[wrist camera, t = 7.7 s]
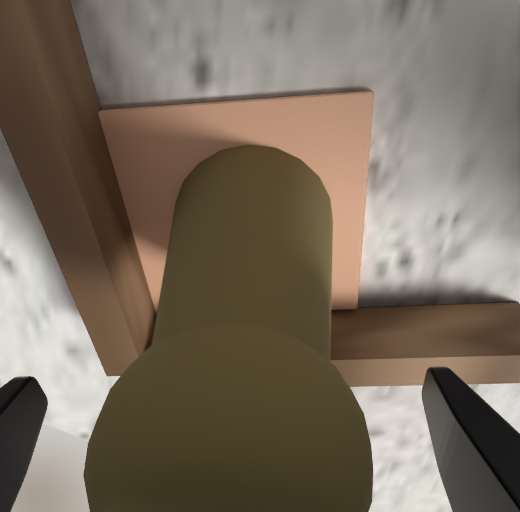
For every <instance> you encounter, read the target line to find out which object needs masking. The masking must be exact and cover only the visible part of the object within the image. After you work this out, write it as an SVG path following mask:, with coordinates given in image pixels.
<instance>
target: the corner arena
mask: <svg viewBox="0 0 520 512" xmlns="http://www.w3.org/2000/svg"><path fill="white" fill-rule="evenodd" d="M373 98H374V92H373V91H360V92H346V93H332V94H318V95H304V96H290V97H276V98H262V99H248V100H235V101H221V102H207V103H193V104H179V105H165V106H151V107H137V108H123V109H109V110H101V108H100V104H99V101H98V97H97V94H96V90H95V87H94V83H93V80H92V76H91V73H90V69H89V66H88V62H87V58H86V55H85V51H84V48H83V44H82V41H81V37H80V34H79V30H78V27H77V23H76V20H75V16H74V13H73V9H72V6H71V2H70V0H0V128H1V130H2V132H3V135H4V137H5V139H6V142H7V144H8V147H9V149H10V151H11V154H12V156H13V158H14V161H15V163H16V165H17V168H18V170H19V172H20V175H21V177H22V179H23V182H24V184H25V186H26V189H27V191H28V193H29V196H30V198H31V200H32V203H33V205H34V207H35V210H36V212H37V214H38V217H39V219H40V221H41V224H42V226H43V228H44V231H45V233H46V235H47V238H48V240H49V242H50V245H51V247H52V249H53V252H54V254H55V256H56V259H57V261H58V263H59V266H60V268H61V270H62V273H63V275H64V277H65V280H66V282H67V284H68V287H69V289H70V291H71V294H72V296H73V298H74V301H75V303H76V305H77V308H78V310H79V312H80V315H81V317H82V319H83V322H84V324H85V326H86V329H87V331H88V333H89V336H90V338H91V340H92V343H93V345H94V347H95V350H96V352H97V354H98V357H99V359H100V361H101V364H102V366H103V368H104V371H105V373H106V375H107V376H121V375H122V374H123V373H124V371H125V370H126V369H127V367H128V366H129V365H130V364H132V363H133V362H134V361H135V360H136V359H137V358H138V357H139V356H140V355H141V354H143V353H144V352H145V351H146V350H147V349H148V348H149V347H150V346H152V340H153V334H154V328H155V322H156V316H157V310H158V304H159V298H160V292H161V286H162V280H163V274H164V268H165V262H166V256H167V250H168V244H169V238H170V232H171V226H172V220H173V214H174V208H175V202H176V199H177V197H178V194H179V191H180V189H181V186H182V183H183V181H184V180H185V178H186V177H187V176H188V175H189V174H190V173H191V171H192V170H193V169H194V168H195V167H196V166H197V165H198V163H199V162H201V161H203V160H204V159H206V158H208V157H210V156H212V155H213V154H215V153H217V152H219V151H220V150H222V149H228V148H233V147H238V146H243V145H258V146H266V147H274V148H278V149H280V150H282V151H284V152H286V153H289V154H291V155H293V156H295V157H297V158H299V159H301V160H302V161H303V162H304V163H305V164H306V165H308V166H309V167H310V168H311V169H312V170H313V171H314V172H315V173H316V174H317V175H318V176H319V177H320V179H321V181H322V183H323V185H324V187H325V189H326V191H327V193H328V195H329V197H330V200H331V208H332V217H333V243H332V300H331V356H330V362H331V363H333V364H334V365H335V366H336V368H337V369H338V371H339V372H340V374H341V375H342V377H343V378H344V380H345V381H346V383H347V384H348V386H349V387H359V386H405V385H423V384H424V379H425V375H426V371H427V369H428V368H429V367H439V366H445V367H448V368H450V369H451V370H452V371H453V372H454V373H455V374H456V375H458V376H459V377H460V378H461V379H462V380H463V381H464V382H465V383H466V384H497V383H520V304H519V302H510V303H482V304H453V305H425V306H396V307H368V308H357V306H358V293H359V280H360V267H361V254H362V241H363V228H364V215H365V202H366V189H367V176H368V163H369V150H370V137H371V124H372V111H373Z"/></svg>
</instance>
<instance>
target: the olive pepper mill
mask: <svg viewBox="0 0 520 512" xmlns="http://www.w3.org/2000/svg"><path fill="white" fill-rule="evenodd" d="M332 243H333V217H332V208H331V200H330V197H329V195H328V193H327V191H326V189H325V187H324V185H323V183H322V181H321V179H320V177H319V176H318V175H317V174H316V173H315V172H314V171H313V170H312V169H311V168H310V167H309V166H308V165H306V164H305V163H304V162H303V161H302V160H301V159H299V158H297V157H295V156H293V155H291V154H289V153H286V152H284V151H282V150H280V149H278V148H274V147H266V146H258V145H243V146H238V147H233V148H228V149H222V150H220V151H219V152H217V153H215V154H213V155H212V156H210V157H208V158H206V159H204V160H203V161H201V162H199V163H198V165H197V166H196V167H195V168H194V169H193V170H192V171H191V173H190V174H189V175H188V176H187V177H186V178H185V180H184V181H183V183H182V186H181V189H180V191H179V194H178V197H177V199H176V202H175V208H174V214H173V220H172V226H171V232H170V238H169V244H168V250H167V256H166V262H165V268H164V274H163V280H162V286H161V292H160V298H159V304H158V310H157V316H156V322H155V328H154V334H153V340H152V346H150V347H149V348H148V349H147V350H146V351H145V352H144V353H143V354H141V355H140V356H139V357H138V358H137V359H136V360H135V361H134V362H133V363H132V364H130V365H129V366H128V367H127V369H126V370H125V371H124V373H123V374H122V375H121V376H120V378H119V379H118V380H117V381H116V383H115V384H114V385H113V387H112V388H111V389H110V391H109V394H108V396H107V398H106V400H105V403H104V405H103V407H102V410H101V412H100V414H99V417H98V419H97V422H96V424H95V427H94V429H93V432H92V435H91V437H90V440H89V443H88V448H87V455H86V462H85V469H84V481H85V486H86V492H87V497H88V503H89V508H90V512H368V511H369V508H370V505H371V503H372V486H373V463H372V451H371V443H370V438H369V434H368V430H367V425H366V421H365V417H364V413H363V412H362V410H361V408H360V406H359V404H358V402H357V400H356V398H355V396H354V394H353V392H352V390H351V389H350V387H349V386H348V384H347V383H346V381H345V380H344V378H343V377H342V375H341V374H340V372H339V371H338V369H337V368H336V366H335V365H334V364H333V363H331V362H330V356H331V300H332Z"/></svg>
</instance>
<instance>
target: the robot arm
mask: <svg viewBox="0 0 520 512" xmlns="http://www.w3.org/2000/svg"><path fill="white" fill-rule="evenodd" d="M422 401H423V405H424V410H425V414H426V418H427V423H428V427H429V431H430V436H431V440H432V444H433V449H434V453H435V457H436V461H437V465H438V469H439V473H440V476H441V479H442V482H443V485H444V488H445V491H446V493H447V496H448V499H449V502H450V505H451V508H452V511H453V512H520V433H518V432H517V431H516V430H515V429H514V428H513V427H512V426H511V425H510V424H509V423H508V422H507V421H506V420H505V419H504V418H502V417H501V416H500V415H499V414H498V413H497V412H496V411H495V410H494V409H493V408H492V407H491V406H490V405H489V404H487V403H486V402H485V401H484V400H483V399H482V398H481V397H480V396H479V395H478V394H477V393H476V392H475V391H474V390H472V389H471V388H470V387H469V386H468V385H467V384H466V383H465V382H464V381H463V380H462V379H461V378H460V377H459V376H458V375H456V374H455V373H454V372H453V371H452V370H451V369H450V368H448V367H445V366H439V367H429V368H428V369H427V371H426V375H425V379H424V384H423V388H422ZM47 405H48V401H47V397H46V395H45V393H44V392H43V390H42V388H41V387H40V385H39V383H38V381H37V380H36V379H35V378H34V377H31V376H26V377H15V378H13V379H12V380H10V381H9V382H8V383H6V384H5V385H4V386H2V387H1V388H0V512H11V509H12V507H13V504H14V502H15V500H16V497H17V495H18V493H19V490H20V488H21V486H22V483H23V481H24V478H25V475H26V473H27V470H28V467H29V464H30V461H31V458H32V455H33V452H34V448H35V445H36V442H37V439H38V436H39V433H40V429H41V426H42V423H43V420H44V417H45V413H46V410H47Z"/></svg>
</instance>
